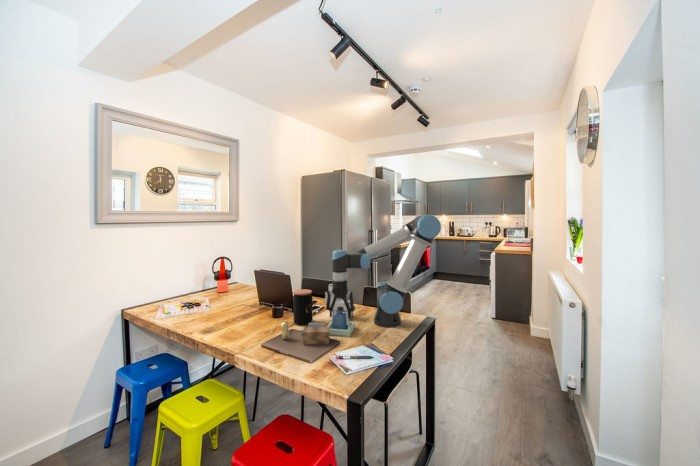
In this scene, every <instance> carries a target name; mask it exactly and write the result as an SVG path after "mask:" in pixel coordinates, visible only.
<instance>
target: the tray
mask: <svg viewBox="0 0 700 466" xmlns="http://www.w3.org/2000/svg"><path fill="white" fill-rule="evenodd" d="M326 327H329V336H333V337H346V338H347V337H349V338H350V337H351V335H352V334H353V332H354V330H355V329H356V321H349V324H348V329H347V330H340V329H333V324H332V320H331V321H330V322H329V323H328V325H326Z"/></svg>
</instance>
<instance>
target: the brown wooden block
mask: <svg viewBox="0 0 700 466" xmlns="http://www.w3.org/2000/svg"><path fill="white" fill-rule="evenodd" d="M303 329H304V331H303V335H302V345H303V344H317V345H328V344H327V343H329V344H330V335H329V327H327V326H324V327H308V326H306V327H303Z"/></svg>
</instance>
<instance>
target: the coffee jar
mask: <svg viewBox="0 0 700 466" xmlns="http://www.w3.org/2000/svg"><path fill="white" fill-rule="evenodd" d="M292 293H293V296H292V299H293V300H292V301H293V304H292V305H293V308H292V309H293V311H292V312H293V323H294V324H295V325H296V326H302V327H303V326H308V324H309V323H313V295H312V293H313V290H311V289H307V288H306V289H303V288H302V289H301V288H300V289H296V290H294V291H292Z"/></svg>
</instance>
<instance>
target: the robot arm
mask: <svg viewBox="0 0 700 466" xmlns="http://www.w3.org/2000/svg"><path fill="white" fill-rule="evenodd" d="M441 230H442V225H441V221H440V220H439V219H438V217H436V216H435V215H432V214H424V215H418V216H417V217H415V218H414V219H412V220H410V221H409V222H408V223H405V224H404V226H403V227H402V228H400V229H398V230H396V231H394V232H392V233H390V234H389V235H386V236H385V237H383V238H381V239H378V240H377V241H375V242H373V243H371V244H369V245H367V246H365V247H364V248H361V249H360V250H357V251H355V252H354V253H348V251H347V250H345V249H335V250H333V251H332V261H331V263H332V264H331V265H332V283H333V289H332V290H329V289H328V290H327V291H326V292H327V295H328V297H327V305H325V306H326V307H325V309H326V310H328V311H329V317H330V318H331V321H332V324H333V319H334V310H333V308H334V305H335V302H336V300H337V298H338V299H343V300H344V303H345V306H346V308H347V312H346V325H348V324H349V322H350V320H349V318H350V317H351V311H353V310H354V306H355V305H354V304H355V303H354V298H353V295H354V291H353V290H352V291H351V290H349V289H348V280H347V279H348V269H369V268H370V267H371V260H372V259H373V260H374V259H375V258H377V257H379V256H380V255H383V254H384V253H386V252H388V251H390V250H392V249H394V248H396V247H398V246H400V245H402V244H405V243H406V242H408V241H409V243H408V244H407V247H406V249H405V251H404V253H403V255H402V257H401V259H400V260H399V263H398V265H397V266H396V269H395V271H394V273H393V275H392V277H391V278H390V280H388V281H380V282H377V284H376V300H377V301H376V311H375V315H374V317H373V323H374V324H375V325H377V326H378V327H385V328H392V327H393V328H394V327H398V326H400V325H401V324H402V318H401V315H400V311H401V310H402V308H403V306H404V299H405V297H406V295H407V293H408V292H407V291H408V290H407V287H408V284H409V282H410V280H411V278H412V276H413V274H414V273H415V270H416V269H417V266H418V265H419V263H420V261H421V258H422V257H423V254H424V253H425V250H426V248H427V247H428V246H431V245H432V243H433V242H434V240H435V238H436V237H438V235H439V234H440V233H441ZM332 293H333V294H334V295H335V296H334V299H333V302H332V304H331V306H330V300H331V294H332ZM347 295H348V296H349V297H347ZM348 298H349V300H350V306H351V309H350V306H349V303H348V301H347V300H348ZM350 319H351V318H350Z"/></svg>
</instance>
